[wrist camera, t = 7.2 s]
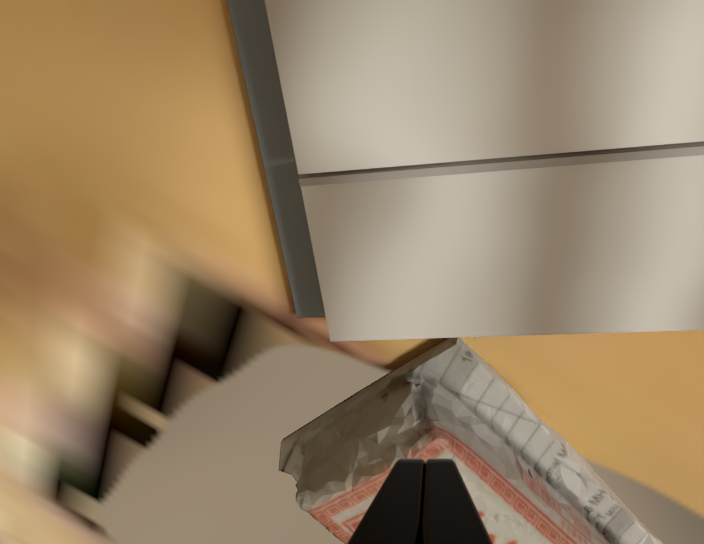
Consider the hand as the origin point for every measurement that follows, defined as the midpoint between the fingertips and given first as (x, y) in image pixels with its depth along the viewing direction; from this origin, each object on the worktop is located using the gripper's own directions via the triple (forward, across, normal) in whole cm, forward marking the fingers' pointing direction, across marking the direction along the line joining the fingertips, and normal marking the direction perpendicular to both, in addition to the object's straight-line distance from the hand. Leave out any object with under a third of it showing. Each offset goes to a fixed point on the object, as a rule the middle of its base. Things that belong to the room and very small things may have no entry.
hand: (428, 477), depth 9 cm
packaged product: (+13, -1, +16) cm, 21 cm away
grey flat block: (+12, -4, +2) cm, 13 cm away
